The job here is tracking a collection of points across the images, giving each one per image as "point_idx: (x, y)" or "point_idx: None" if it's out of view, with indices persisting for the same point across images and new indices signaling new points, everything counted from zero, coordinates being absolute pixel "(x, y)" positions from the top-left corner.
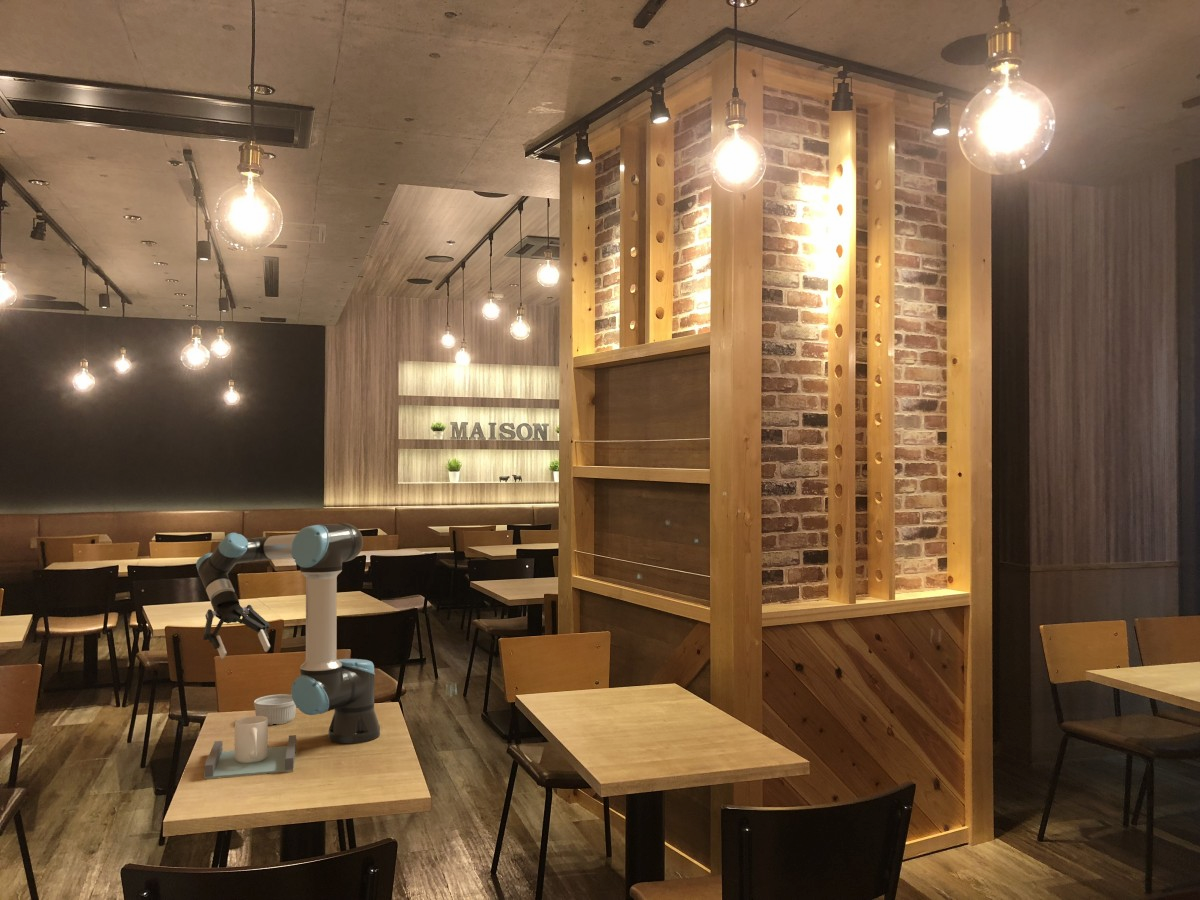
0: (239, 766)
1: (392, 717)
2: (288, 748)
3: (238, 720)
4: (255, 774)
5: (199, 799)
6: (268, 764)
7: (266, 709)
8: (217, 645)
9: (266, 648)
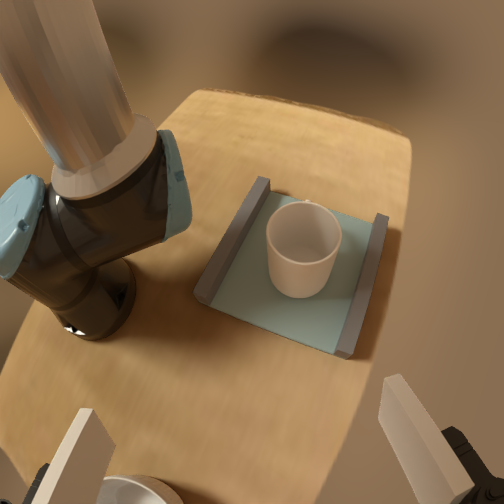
0: None
1: (12, 349)
2: (243, 221)
3: (328, 255)
4: None
5: (390, 169)
6: None
7: (168, 499)
8: (447, 431)
9: (102, 428)
